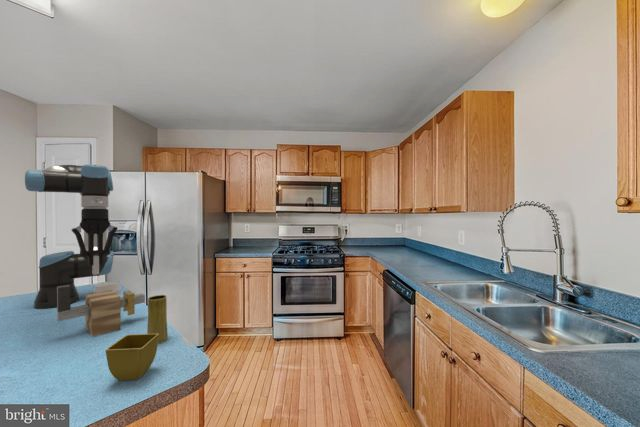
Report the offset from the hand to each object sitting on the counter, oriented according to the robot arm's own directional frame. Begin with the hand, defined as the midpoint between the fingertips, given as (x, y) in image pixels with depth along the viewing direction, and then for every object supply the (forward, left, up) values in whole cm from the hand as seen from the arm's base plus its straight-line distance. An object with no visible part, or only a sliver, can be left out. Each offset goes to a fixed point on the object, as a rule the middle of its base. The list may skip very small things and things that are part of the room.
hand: (95, 273), depth 98 cm
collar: (0, +10, -17) cm, 20 cm away
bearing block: (0, +2, -20) cm, 20 cm away
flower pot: (+42, +1, -21) cm, 47 cm away
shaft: (0, +3, -14) cm, 14 cm away
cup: (-19, +7, -21) cm, 29 cm away
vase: (+25, +12, -21) cm, 34 cm away
